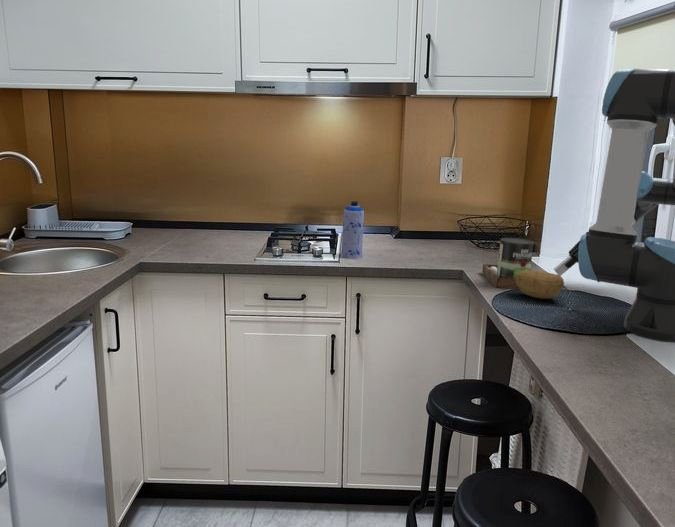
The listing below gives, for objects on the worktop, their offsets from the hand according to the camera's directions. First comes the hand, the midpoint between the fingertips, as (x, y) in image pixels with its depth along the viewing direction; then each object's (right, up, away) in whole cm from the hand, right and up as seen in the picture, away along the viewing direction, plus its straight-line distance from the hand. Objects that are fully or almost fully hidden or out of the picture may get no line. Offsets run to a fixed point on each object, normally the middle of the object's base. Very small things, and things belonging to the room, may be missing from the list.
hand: (556, 272), depth 201 cm
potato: (-11, -7, -15) cm, 20 cm away
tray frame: (-14, -3, +3) cm, 15 cm away
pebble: (-18, -1, +9) cm, 20 cm away
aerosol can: (-65, +5, +27) cm, 71 cm away
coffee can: (-14, -4, 0) cm, 15 cm away
